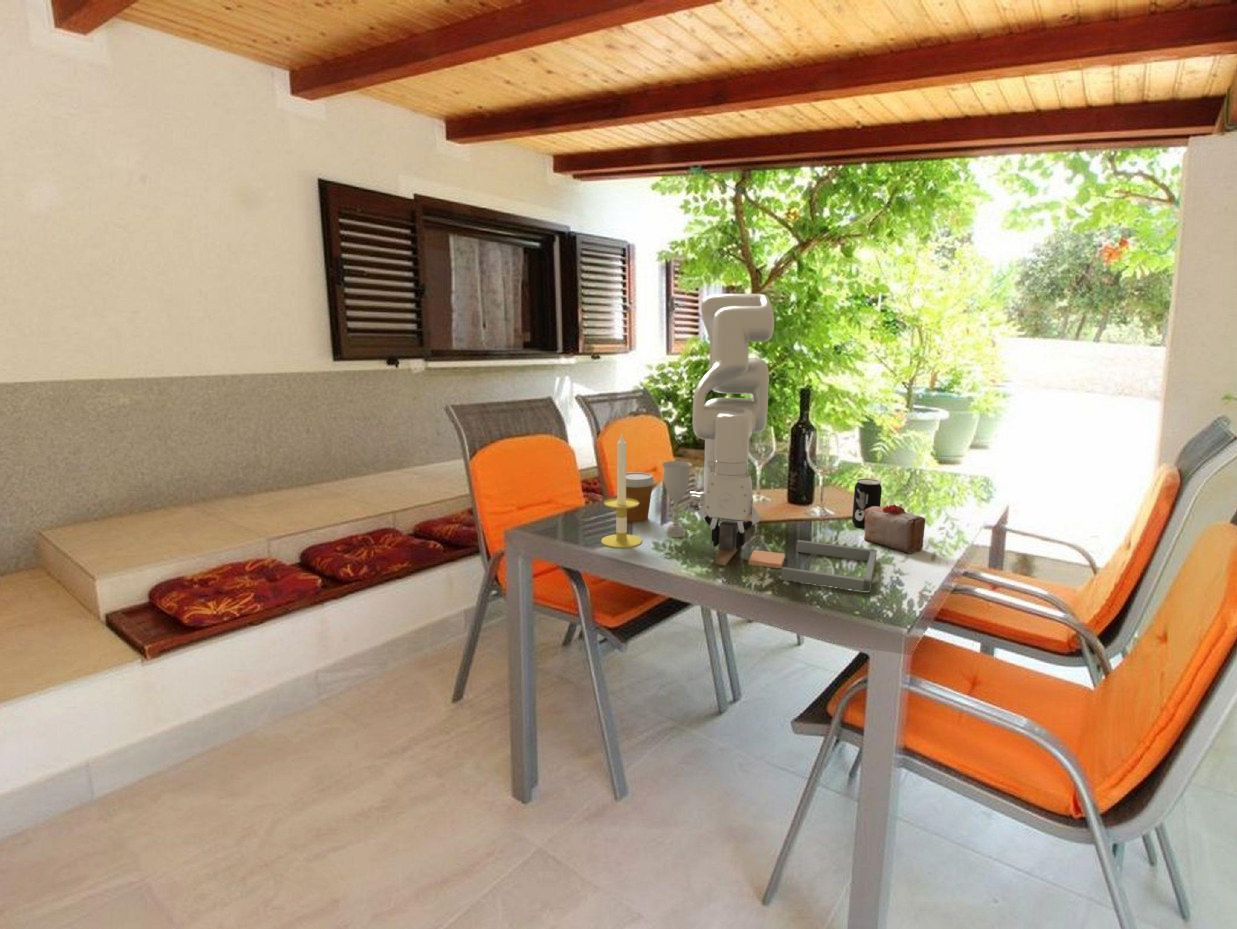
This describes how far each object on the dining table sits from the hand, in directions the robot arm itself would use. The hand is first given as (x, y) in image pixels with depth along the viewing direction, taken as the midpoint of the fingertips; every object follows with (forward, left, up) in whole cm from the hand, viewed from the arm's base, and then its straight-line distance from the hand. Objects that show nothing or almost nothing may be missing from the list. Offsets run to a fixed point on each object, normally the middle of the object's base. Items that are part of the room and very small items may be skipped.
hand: (727, 545), depth 153 cm
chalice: (-16, +10, -3) cm, 19 cm away
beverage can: (+27, +37, -3) cm, 46 cm away
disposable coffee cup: (-30, +18, -3) cm, 35 cm away
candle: (-26, -1, -3) cm, 26 cm away
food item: (+34, +24, -3) cm, 42 cm away
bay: (+22, 0, -2) cm, 22 cm away
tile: (+9, 0, -3) cm, 9 cm away
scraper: (0, 0, -3) cm, 3 cm away
